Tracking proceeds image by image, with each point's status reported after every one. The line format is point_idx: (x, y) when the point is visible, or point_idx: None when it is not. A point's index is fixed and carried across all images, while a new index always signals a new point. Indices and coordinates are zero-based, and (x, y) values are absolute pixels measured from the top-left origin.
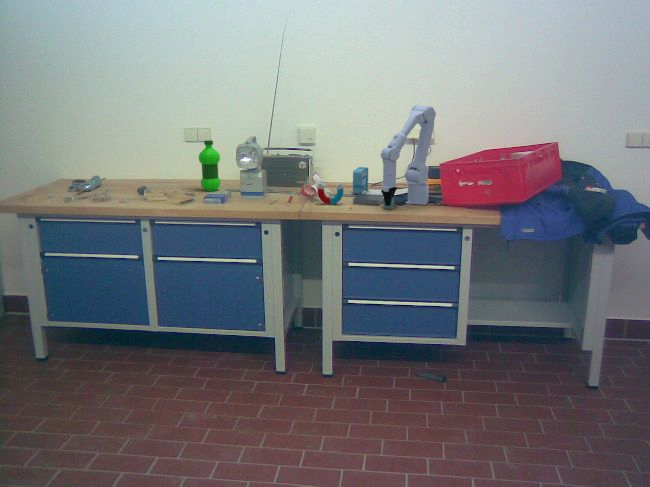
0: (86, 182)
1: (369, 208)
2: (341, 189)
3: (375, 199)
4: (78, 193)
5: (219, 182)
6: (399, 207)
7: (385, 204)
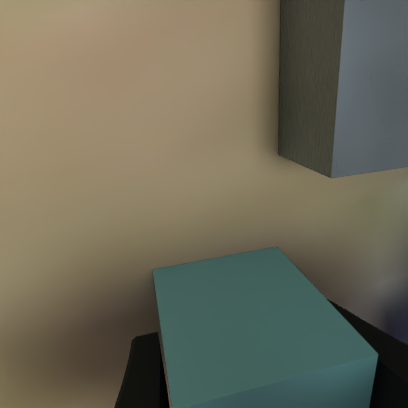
0: None
1: (10, 58)
2: None
3: (400, 77)
4: None
5: None
6: None
7: (130, 354)
